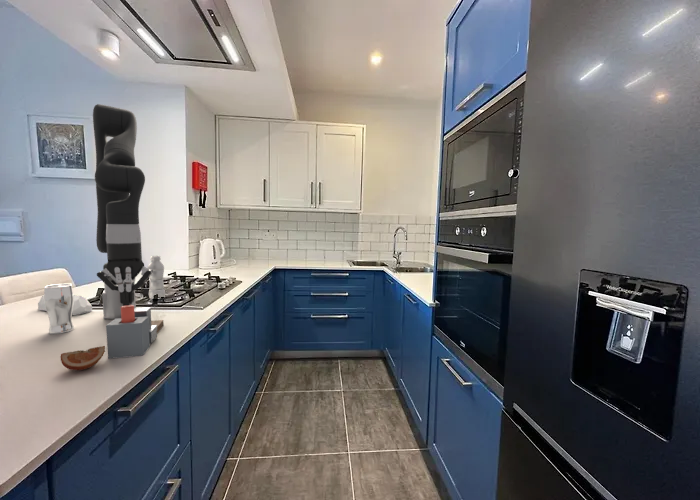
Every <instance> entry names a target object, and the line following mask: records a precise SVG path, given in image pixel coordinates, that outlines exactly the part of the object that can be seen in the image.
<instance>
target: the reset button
mask: <svg viewBox="0 0 700 500" xmlns="http://www.w3.org/2000/svg"><path fill="white" fill-rule="evenodd" d="M134 321H135V313H134V305H128V306H122V307H121V323H130V322H134Z"/></svg>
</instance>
